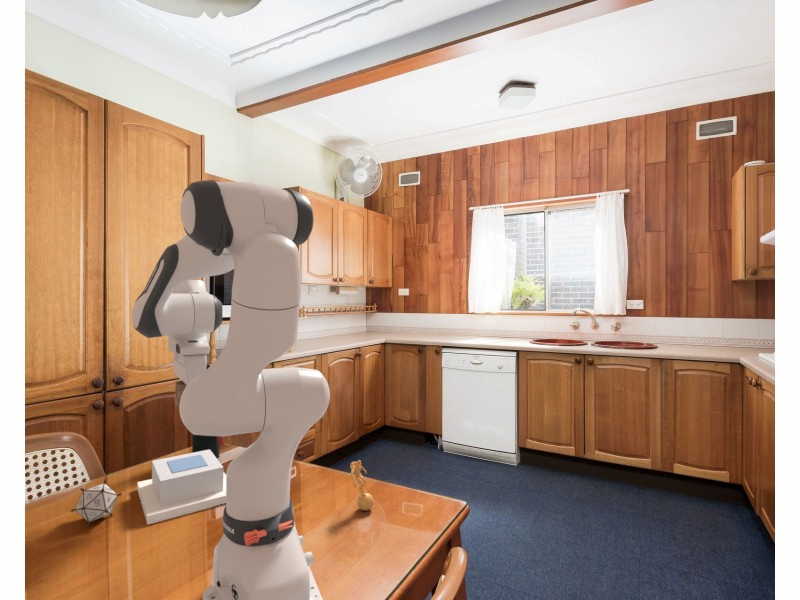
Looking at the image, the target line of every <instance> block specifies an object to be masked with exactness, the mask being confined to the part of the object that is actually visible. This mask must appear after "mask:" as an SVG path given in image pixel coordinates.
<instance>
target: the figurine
mask: <svg viewBox="0 0 800 600" xmlns="http://www.w3.org/2000/svg"><path fill="white" fill-rule="evenodd" d="M349 467H350V470H351V471H350V477H351V480H352V483H353V487H354V488H357V487H358V492H359V493H360V495H359V496H358V497H357V501H356V502H357V507H358V508H359V509H360V510H361V511H365V512H366V511H367V512H368V511H369V510H371V509H372V507H373V506H374V503H375V502H374V501H375V500H374V496H372V494H371V493H368V491H366V490H365V488H364V486H365V485H366V484H367V480H366V479H365V478H364V476H363V475H362V473H361V471H362V470H363V471H364V473H365V474H368V472H367V470H366V469H365V467H363V466H362V461H361V460H360V459H358V460H357V461H352V462H351V463H350V465H349ZM354 476H355V477H354ZM358 484H359V486H358Z"/></svg>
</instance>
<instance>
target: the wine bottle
mask: <svg viewBox="0 0 800 600" xmlns="http://www.w3.org/2000/svg"><path fill="white" fill-rule="evenodd" d="M210 366H211V361H210V360H207V365H206V370H207V369H208V368H209V367H210ZM191 434H192V433H191ZM191 437H192V444H191V445H192V447H191V453H194V452H199V451H204V450H209V449H210V450H211V452H212V453H213V454H214V455H215V457H216V458H217V459H218V460H219V458H220V448H221V446H223V447H224V442H223V439H222V437H223V436H204V435H194V434H192V436H191Z"/></svg>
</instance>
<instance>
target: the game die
mask: <svg viewBox="0 0 800 600" xmlns="http://www.w3.org/2000/svg"><path fill="white" fill-rule="evenodd" d="M106 483H107V479H104V480H103V483H99V484H98V485H94V486H92V487H89V488H86V489H84V488H83V487H80V491H81V494H80V496H79V499H78V501H77V503H76V506H75V508H73V509H71V510H70V512H71V513H73V512H76V513H78V515H80V516H81V517H82V518H83V519H84V521H86V522H87V523H86V527H87V526H88V527H89V526H90V524H91V523H92V522H94V521H97V520H99V519H101V518H104V517H107V516H110V517H114V514H113V513H112V511H113V508H114V506H115V503H116V501H117V499H118V498H119V496H122V495H123V493H122V492H120V493H117V492H116V491H115V490H114V489H112V488H111V487H110V486H109V484H106Z"/></svg>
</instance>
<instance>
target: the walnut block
mask: <svg viewBox="0 0 800 600" xmlns="http://www.w3.org/2000/svg"><path fill="white" fill-rule="evenodd" d="M174 384H175V385H174V386H175V390H174V393H175V394H174V396H175V397H174V398H175V399H174V403H175V406H176V408H177V409H178V410H179V404H180V399H181V395H182V393H183V391H184V389H185V388H186V384H185V383H184V382H183V381H180V380H177V381H175V382H174Z"/></svg>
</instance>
